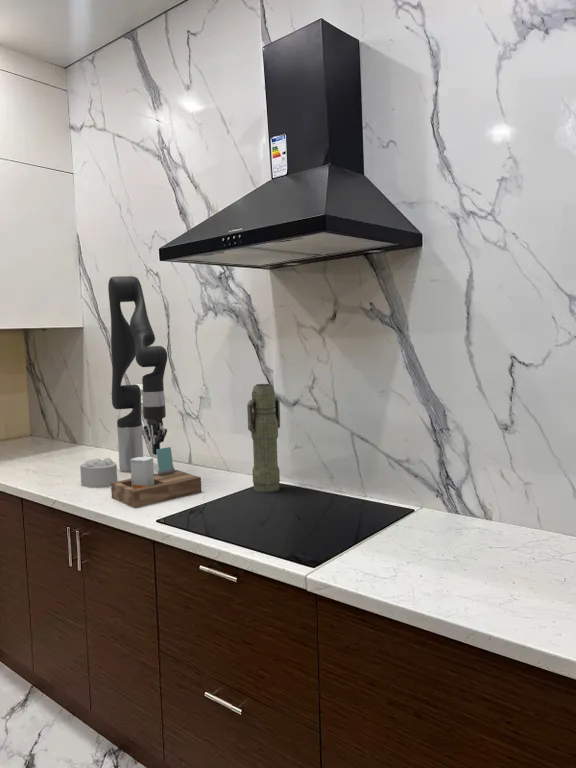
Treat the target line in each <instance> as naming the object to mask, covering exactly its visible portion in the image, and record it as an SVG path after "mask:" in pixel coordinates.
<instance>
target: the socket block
mask: <svg viewBox="0 0 576 768" xmlns="http://www.w3.org/2000/svg"><path fill="white" fill-rule="evenodd" d="M110 489H111V490H110V492H111V499H113V500H116V501H118V502H120V503H123V504H124V505H126V506H129V507H131V508H133V509H135V508H140V507H144V506H149V505H152V504H153V505H154V504H157V503H160V502H162V503H163V502H166V501H171V500H175V499H179V498H182V497H183V498H184V497H185V496H186V497H187V496H191V495H195V494H200V493H203V492H202V477H201V476H198V475H195V474H192V473H188V472H186V471H185V472H184V471H181V470H178V469H175V472H174V473H170V474H165V475H160V476H159V475H158V472H157V473H154V485H152V486H148V487H143V488H138V489H134V488H132V481H131V478H129V479H123V480H117V482H112V483H111V487H110Z"/></svg>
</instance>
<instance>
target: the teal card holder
mask: <svg viewBox="0 0 576 768" xmlns="http://www.w3.org/2000/svg"><path fill="white" fill-rule="evenodd" d="M156 453H157V455H156V458H157V459H156V461H157V467H158V471H157V473H158V475H159V476H160V475H165V474H170V473H174V472H175V470H176V469H175V468H174V463H173V462H174V461H173V455H172V447H171V446H168V447H162V448H160V449H156Z"/></svg>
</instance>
